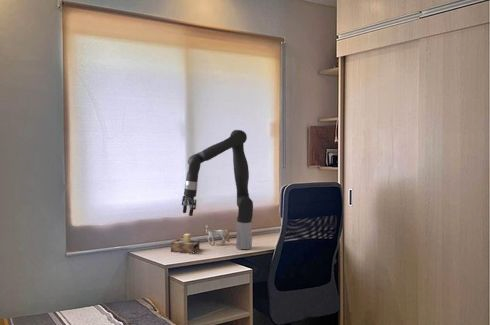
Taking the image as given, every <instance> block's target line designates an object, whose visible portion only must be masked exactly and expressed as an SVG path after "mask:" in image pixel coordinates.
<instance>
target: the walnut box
mask: <svg viewBox="0 0 490 325" xmlns="http://www.w3.org/2000/svg"><path fill="white" fill-rule="evenodd" d="M180 240H183V238H182V237H178V238H176V239H174V240H173V241H171V242H170V253H177V252H180V253H179V254H186V253H193V252H195V251H196V252H198V251H200V244H201V243H200V239H197V238H196V239H194V238H190V241H195V242H198V243H197V244H196V245H194V246H193V244H194V243H187V242H178V241H180ZM197 250H198V251H197ZM196 252H195V253H196ZM193 254H194V253H193Z"/></svg>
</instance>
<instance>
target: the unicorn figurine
mask: <svg viewBox="0 0 490 325" xmlns="http://www.w3.org/2000/svg"><path fill="white" fill-rule="evenodd" d="M203 228H204V229H205V233H206V234H208V237H207V241H208V244H209V245H211V246H214V245H216V244H215V243H216V242H215V239H214V238H218V237H221V238H222V240H221V241H220V246H222V245H224V244H226V242H227V243H230V242H231V240H230V233H229V231H228V229H225V230H224V229H218V230H217V229H215V228H214V227H213V226H212V225H210V224H207V225H205V226H203ZM210 238H211V240H210Z"/></svg>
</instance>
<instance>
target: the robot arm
mask: <svg viewBox="0 0 490 325" xmlns="http://www.w3.org/2000/svg"><path fill="white" fill-rule="evenodd" d="M247 139H248V135H247V133H246V132H245V131H243V130H241V129H234V130H233V131H232V132H231V133H230V135H229V137H227V138H225V139H224V140H222V141H220V142H217V143H215V144H212V145H210V146H208V147H207V148H205V149H203V150H202V151H199V152H197V153H194V154H192V155H191V156H189V157H188V158H187V159H188V160H187V164H188V171H187V173H186V179H185V184H184V190H183V196H182V200H181V206H182V213H183V214H186V213H187V210H188V208H189V213H188V216H189V217H192V216H193V214H194V210H196V209H197V199H195V198H196V197H197V191H198V180H199V173H200V169H201V164H203V163H204V162H208V161H210V160H212V159H213V158H216V157H217V156H219V155H221V154H222V153H224V152H226V151H228V150H229V149H232V162H233V164H232V165H233V174H234V182H235V187H236V206H237V208H238V212H237V217H236V242H235V243H236V244H235V245H236V247H235V248H236V249H237V248H238V250H240V249H250V248H251V247H252V246H253V244H252V243H253V233H252V221H253V216H254V215H253V214H254V202H253V199H252V198H250V193H249V180H250V172H249V162H248V160H247V157H246V154H245V148H244V147H245V145H244V143H246V142H247ZM251 249H252V248H251ZM251 249H250V250H251Z"/></svg>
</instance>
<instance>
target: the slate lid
mask: <svg viewBox="0 0 490 325" xmlns="http://www.w3.org/2000/svg"><path fill="white" fill-rule="evenodd" d="M190 239H191V233H184V234H183V240H180V241H178V242H187V243H194V244H193V246H194V245H196V244H197V243H198V242H195V241H190Z"/></svg>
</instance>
